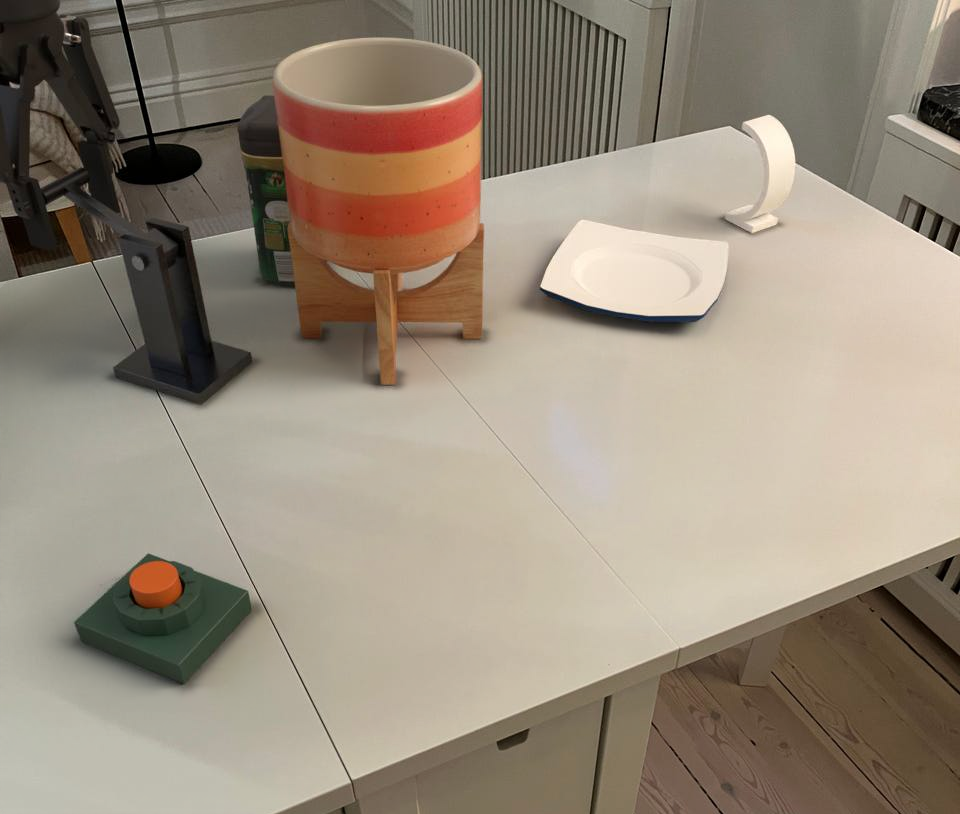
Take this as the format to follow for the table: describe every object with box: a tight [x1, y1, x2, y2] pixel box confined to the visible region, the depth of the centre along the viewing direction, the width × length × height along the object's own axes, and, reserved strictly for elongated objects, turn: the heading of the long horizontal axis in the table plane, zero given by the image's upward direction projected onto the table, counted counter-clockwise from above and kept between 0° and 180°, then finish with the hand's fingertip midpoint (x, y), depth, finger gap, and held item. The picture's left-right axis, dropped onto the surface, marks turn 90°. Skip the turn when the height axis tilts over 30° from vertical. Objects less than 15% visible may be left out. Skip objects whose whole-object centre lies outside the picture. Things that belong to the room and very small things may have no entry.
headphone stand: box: [724, 114, 796, 234], centre depth 128 cm, size 5×6×12 cm
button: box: [129, 561, 182, 609], centre depth 78 cm, size 4×4×2 cm
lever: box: [40, 166, 178, 268], centre depth 97 cm, size 13×6×2 cm, turn 64°
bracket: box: [112, 217, 254, 405], centre depth 102 cm, size 11×9×15 cm
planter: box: [272, 37, 485, 386], centre depth 102 cm, size 20×20×27 cm
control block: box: [73, 553, 253, 685], centre depth 80 cm, size 10×9×4 cm
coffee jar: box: [237, 94, 328, 286], centre depth 116 cm, size 10×8×19 cm
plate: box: [539, 219, 730, 323], centre depth 120 cm, size 20×20×3 cm
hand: (77, 227), depth 100 cm, fingers open, 8 cm apart
